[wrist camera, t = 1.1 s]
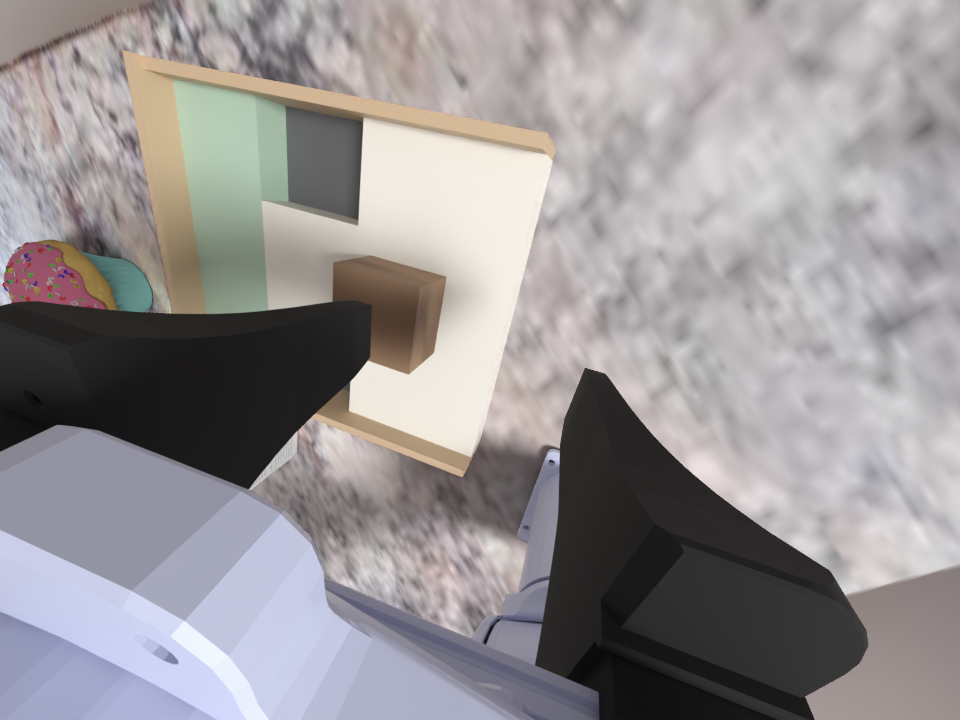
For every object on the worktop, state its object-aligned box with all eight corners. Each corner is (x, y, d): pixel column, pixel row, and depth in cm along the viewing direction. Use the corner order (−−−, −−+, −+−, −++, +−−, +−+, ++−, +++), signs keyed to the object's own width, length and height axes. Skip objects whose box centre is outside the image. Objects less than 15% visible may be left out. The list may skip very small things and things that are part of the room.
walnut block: (434, 352, 23) (408, 374, 19) (366, 330, 23) (331, 348, 20) (446, 276, 20) (420, 287, 17) (371, 255, 21) (333, 262, 18)
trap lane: (479, 443, 27) (460, 482, 23) (235, 353, 32) (183, 373, 28) (556, 149, 19) (545, 130, 15) (204, 79, 23) (122, 50, 19)
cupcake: (176, 281, 30) (-47, 317, 20) (160, 347, 34) (-33, 406, 24) (100, 216, 30) (-168, 216, 20) (92, 290, 34) (-133, 323, 24)
